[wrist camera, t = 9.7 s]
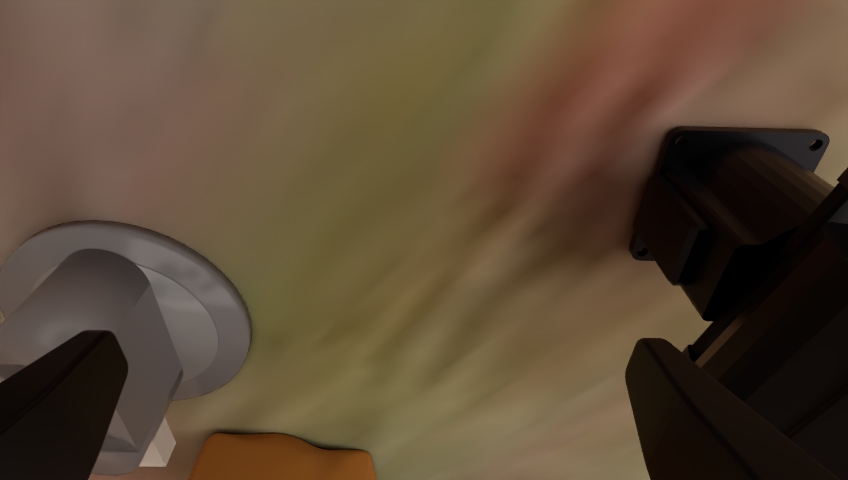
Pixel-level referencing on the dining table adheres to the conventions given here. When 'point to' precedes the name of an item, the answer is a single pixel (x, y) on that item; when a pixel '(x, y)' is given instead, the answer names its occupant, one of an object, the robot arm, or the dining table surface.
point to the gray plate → (172, 285)
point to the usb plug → (136, 333)
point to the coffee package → (277, 460)
